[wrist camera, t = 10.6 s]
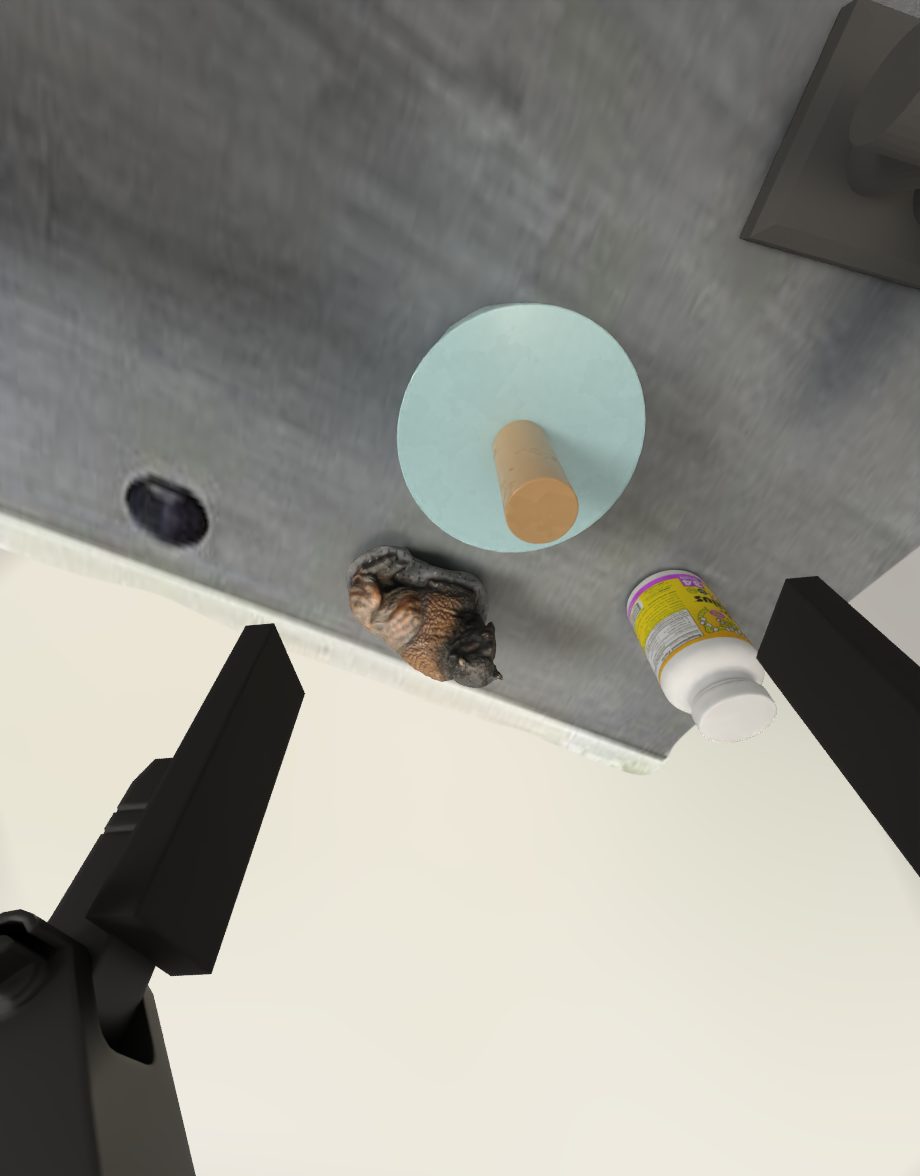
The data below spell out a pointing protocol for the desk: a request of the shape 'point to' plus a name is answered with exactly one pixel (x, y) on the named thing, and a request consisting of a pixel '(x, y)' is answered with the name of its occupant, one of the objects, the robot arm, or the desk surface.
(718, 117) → the desk surface
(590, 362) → the lid
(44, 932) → the robot arm
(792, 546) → the desk surface
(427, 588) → the brown striped lumpy figure
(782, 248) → the faucet
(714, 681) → the supplement bottle
